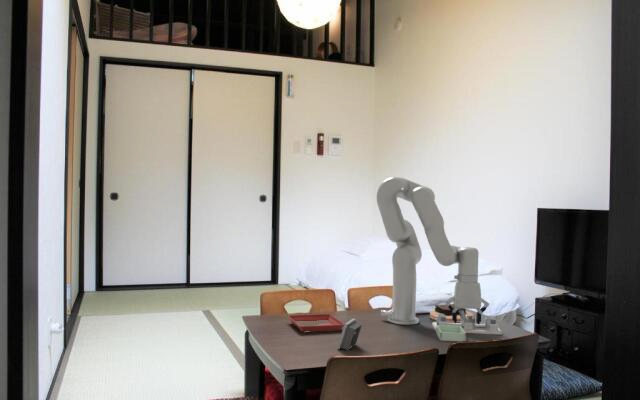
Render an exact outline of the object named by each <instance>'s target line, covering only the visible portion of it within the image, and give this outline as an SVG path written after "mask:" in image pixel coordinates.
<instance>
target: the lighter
mask: <svg viewBox="0 0 640 400" xmlns="http://www.w3.org/2000/svg"><path fill="white" fill-rule="evenodd" d="M457 311H458V315H459V317H460V321H461V320H463V321H464V327H463V329H465V323H473V329H472V330H476V329H475V328H476V327H475V324H476V317H473V315H467V316H466V314H465V309H463V308H459V309H458V310H457ZM466 317H467V318H466Z"/></svg>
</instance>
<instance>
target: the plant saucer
mask: <svg viewBox="0 0 640 400" xmlns="http://www.w3.org/2000/svg"><path fill="white" fill-rule="evenodd" d="M287 317H288V320H290V321H291V323H292V325H293V326H295V327H296V326H297V327H298V328H299V329H300V332H302V331H303V332H305V331H325V332H331V331H330V330H339V331H340V330H342V329H343V328H344V325H345V323H344V322H342V321H341V320H340V319H338V318H336V317H335V316H333V315H332V314H331V313H320V314H316V313H315V314H293V315H291V314H290V315H288V316H287ZM317 320H318V321H319V320H328V321H329V322H330V323H331V324H330V323H326V324H325V323H323V324H322V323H321V324H319V325H315V326H303V325H302V326H300V325H299V324H298V323H296V322H295V321H317ZM297 327H296V328H297ZM298 328H297V329H298ZM299 329H298V330H299ZM303 332H302V333H303Z"/></svg>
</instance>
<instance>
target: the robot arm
mask: <svg viewBox="0 0 640 400" xmlns="http://www.w3.org/2000/svg"><path fill="white" fill-rule="evenodd" d="M435 195H436V194H435V192H434V191H433V190H432V188H430V187H428V186H424V185H421V184H419V183H416V182H414V181H411V180H409V179H406V178H403V177H399V176H398V177H397V176H391V177H389V178H386V179H384V180H383V182H381V184H379V186H378V189H377V192H376V204H377V207H378V210H379V213H380V216H381V217H380V218H381V219H382V223H383V226H384V229H385V232H386V233H385V234H386V236H387V238H388V240H390V242H392V243H395V245H396V248H395V250H394V251H393V253H392V258H391V261H392V264H391V265H392V304H391V305H392V306H391V309H389V310H380V314H381V316H384V317H387V320H388V322H390V323H392V324H396V325H407V326H410V325H411V326H412V325H417V324H418V323H420V319H419V318H418V317H416V308H417V307H416V305H417V304H416V303H417V301H416V300H417V267H416V265H417V264H419V263H420V261H421V260H422V258H423V257H422V255H423V254H422V249H421V246H420V242H419V240H418V237H417V236H418V235H417V234H416V231H415V229H414V226H413V225H412V223H411V222H410V221H408V220H406V219H404V216H403V214H402V209H401V207H400V205H399V202H398V198H399V199H402V200H404V201H407V202H410V203H411V204H412V206H413V208H414V211H415V212H416V214H417V217H418V219H419V220H420V223H421V225H422V226H423V229H424V234H425V236H426V240H427V242H428V245H429V248H430V249H431V252H432V253H433V256H434V257H435V260H436V261H437V262H438V264H440V265H441V266H443V267H449V266H450V267H451V266H452V265H455V264H458V267H457V268H458V270H457V275H453V277H454V278H453V279H454V280H457V281H456V282H455V286H454V292H453V296H451V297H450V298H448V299H446V300H445V301H444V303H445V305H446V306H447V308H448V309H449V310H450V311H451V312H452V313H451V314H452V315H451V317H452V320H451V321H453V323H458V319H457V318H458V315H457V314H458V313H457V311H459V309H465V310H466V309H470V310H471V309H473V310H476V315H475V324H481V322H482V314H483V313H484V312H485V311H486V310H487V309H488V308H489V306H490V303H489V302H488V301H487V300H485V299H484V298H482V289H481V284H480V282H478V281H479V280H478V279H479V278H478V277H479V253H480V252H479V250H478V248H476V247H469V246H468V247H467V246H466V247H461V246H456V245H451V244H450V241H449V239H448V237H447V234H446V231H445V222H444V218H443V215H442V213H441V212H440V209H439V208H438V205H437V204H436V201H435V200H436V196H435ZM452 302H453V305H454V306H452V305H451V303H452ZM482 303H483V306H482Z"/></svg>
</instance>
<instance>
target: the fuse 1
mask: <svg viewBox="0 0 640 400" xmlns="http://www.w3.org/2000/svg"><path fill="white" fill-rule="evenodd" d="M437 316H438V325H440V321H443V322H447V317H446V315H445V313H438V315H437Z"/></svg>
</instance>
